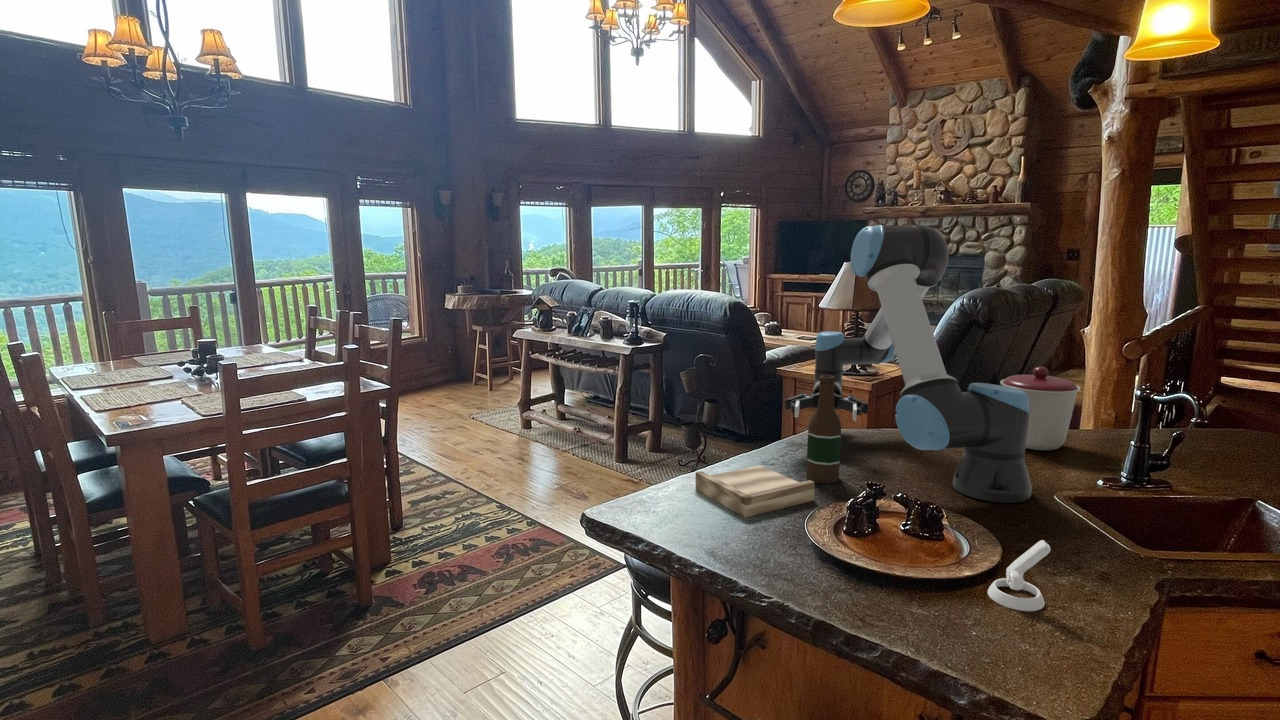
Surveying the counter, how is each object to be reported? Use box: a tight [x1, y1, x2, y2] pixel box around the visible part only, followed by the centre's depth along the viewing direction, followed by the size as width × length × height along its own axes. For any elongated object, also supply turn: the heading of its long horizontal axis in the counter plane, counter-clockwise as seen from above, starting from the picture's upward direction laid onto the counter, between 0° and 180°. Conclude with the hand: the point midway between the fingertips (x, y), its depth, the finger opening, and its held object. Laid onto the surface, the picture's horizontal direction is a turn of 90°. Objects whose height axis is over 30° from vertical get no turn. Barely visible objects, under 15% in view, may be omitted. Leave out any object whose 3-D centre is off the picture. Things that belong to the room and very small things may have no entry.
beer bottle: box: [805, 375, 842, 485], centre depth 154 cm, size 8×8×24 cm
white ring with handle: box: [987, 539, 1052, 612], centre depth 102 cm, size 8×12×7 cm
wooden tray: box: [695, 464, 816, 518], centre depth 146 cm, size 18×18×4 cm
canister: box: [999, 366, 1082, 451], centre depth 177 cm, size 18×18×21 cm
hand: (825, 413), depth 162 cm, fingers open, 13 cm apart
